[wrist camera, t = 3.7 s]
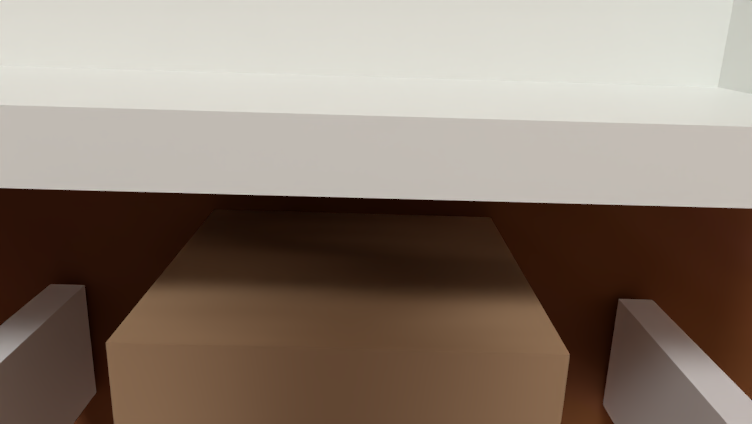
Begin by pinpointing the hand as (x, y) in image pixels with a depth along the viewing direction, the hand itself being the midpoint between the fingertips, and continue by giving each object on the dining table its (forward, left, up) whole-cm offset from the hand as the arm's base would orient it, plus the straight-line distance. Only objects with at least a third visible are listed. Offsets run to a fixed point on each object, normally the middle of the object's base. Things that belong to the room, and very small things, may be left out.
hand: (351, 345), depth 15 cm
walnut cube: (0, 0, 0) cm, 0 cm away
